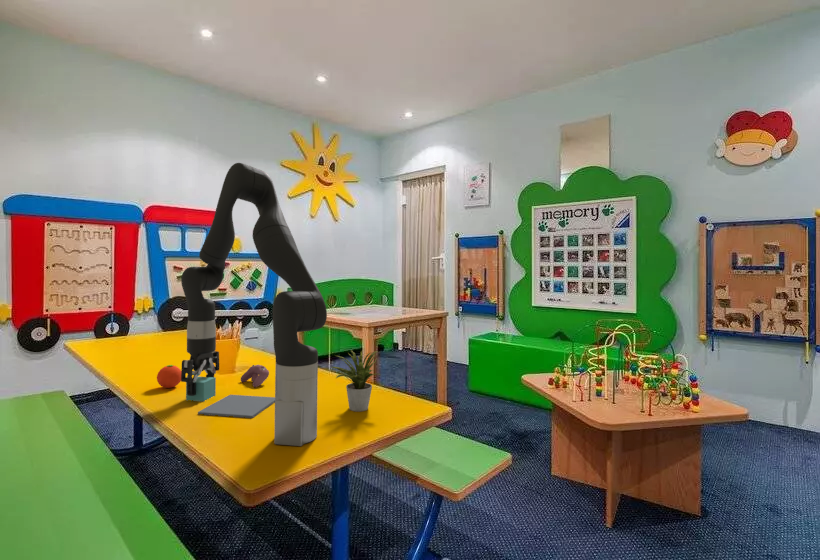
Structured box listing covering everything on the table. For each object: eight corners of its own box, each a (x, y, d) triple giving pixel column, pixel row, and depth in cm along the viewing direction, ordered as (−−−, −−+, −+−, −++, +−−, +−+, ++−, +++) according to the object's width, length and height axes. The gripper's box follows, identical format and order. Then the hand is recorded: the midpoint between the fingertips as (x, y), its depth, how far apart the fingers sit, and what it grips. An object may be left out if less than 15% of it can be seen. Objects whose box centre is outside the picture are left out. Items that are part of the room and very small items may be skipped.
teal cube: (204, 401, 118) (204, 382, 118) (186, 400, 119) (186, 381, 118) (215, 395, 123) (215, 377, 123) (198, 394, 124) (198, 376, 124)
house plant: (354, 395, 126) (355, 342, 125) (394, 403, 119) (395, 347, 119) (323, 409, 113) (324, 349, 113) (365, 419, 107) (366, 355, 106)
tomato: (156, 385, 133) (156, 363, 132) (181, 382, 136) (181, 361, 136) (156, 392, 126) (156, 368, 126) (182, 388, 129) (182, 366, 129)
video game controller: (264, 390, 134) (273, 369, 137) (252, 386, 131) (262, 365, 134) (250, 384, 141) (259, 364, 143) (238, 380, 138) (247, 360, 140)
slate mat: (252, 418, 106) (252, 415, 106) (197, 414, 108) (197, 412, 108) (278, 399, 121) (278, 397, 121) (230, 396, 123) (230, 394, 123)
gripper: (198, 340, 113) (197, 399, 114) (227, 332, 127) (227, 385, 128) (172, 339, 114) (172, 397, 115) (204, 331, 128) (204, 383, 129)
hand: (201, 391), depth 121 cm, fingers open, 8 cm apart
